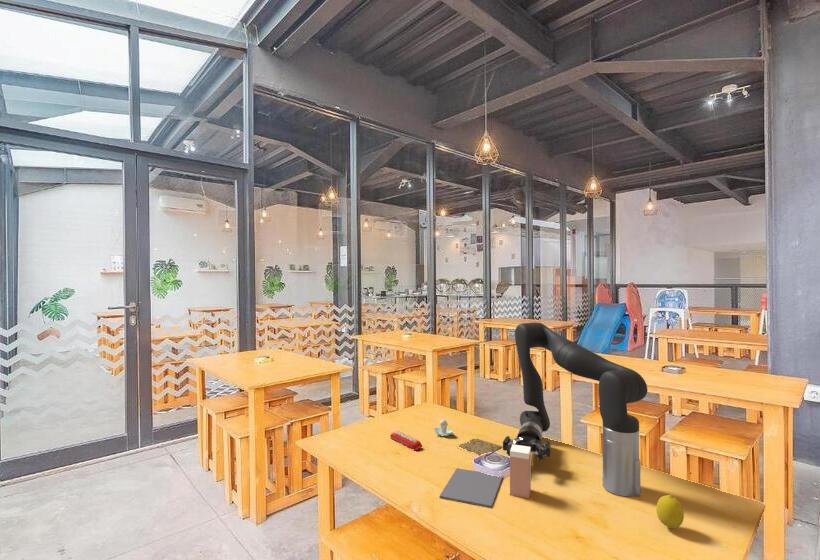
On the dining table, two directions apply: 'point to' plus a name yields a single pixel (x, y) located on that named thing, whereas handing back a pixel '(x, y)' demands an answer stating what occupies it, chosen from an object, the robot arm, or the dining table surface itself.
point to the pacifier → (443, 429)
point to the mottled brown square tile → (480, 446)
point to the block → (520, 470)
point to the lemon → (670, 511)
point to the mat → (472, 487)
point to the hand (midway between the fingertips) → (524, 455)
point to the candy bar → (406, 440)
